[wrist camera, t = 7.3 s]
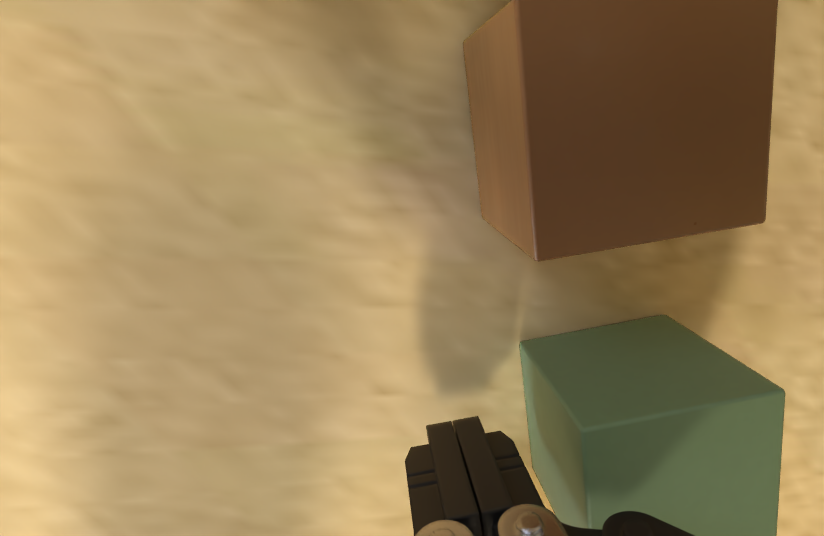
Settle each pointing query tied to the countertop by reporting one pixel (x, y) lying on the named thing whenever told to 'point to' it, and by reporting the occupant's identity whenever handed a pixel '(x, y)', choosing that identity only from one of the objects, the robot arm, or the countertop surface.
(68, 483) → the countertop surface
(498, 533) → the robot arm
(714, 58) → the oak block
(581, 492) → the sage block
